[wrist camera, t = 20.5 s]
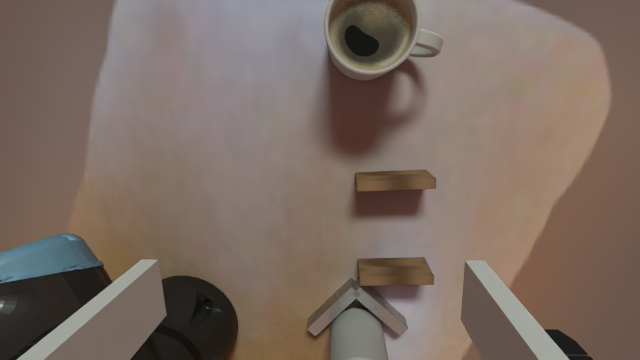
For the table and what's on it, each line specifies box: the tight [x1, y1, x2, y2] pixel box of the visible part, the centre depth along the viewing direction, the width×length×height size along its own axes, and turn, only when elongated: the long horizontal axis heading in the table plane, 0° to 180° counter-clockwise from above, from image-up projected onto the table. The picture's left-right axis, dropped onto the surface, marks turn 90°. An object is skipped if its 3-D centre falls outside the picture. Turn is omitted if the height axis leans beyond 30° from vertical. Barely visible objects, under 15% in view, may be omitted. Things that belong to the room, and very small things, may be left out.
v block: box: [307, 278, 408, 336], centre depth 48 cm, size 14×8×2 cm, turn 93°
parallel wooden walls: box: [355, 170, 436, 286], centre depth 44 cm, size 9×13×5 cm
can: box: [329, 309, 388, 360], centre depth 44 cm, size 8×8×12 cm
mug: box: [324, 0, 443, 81], centre depth 36 cm, size 11×10×10 cm
